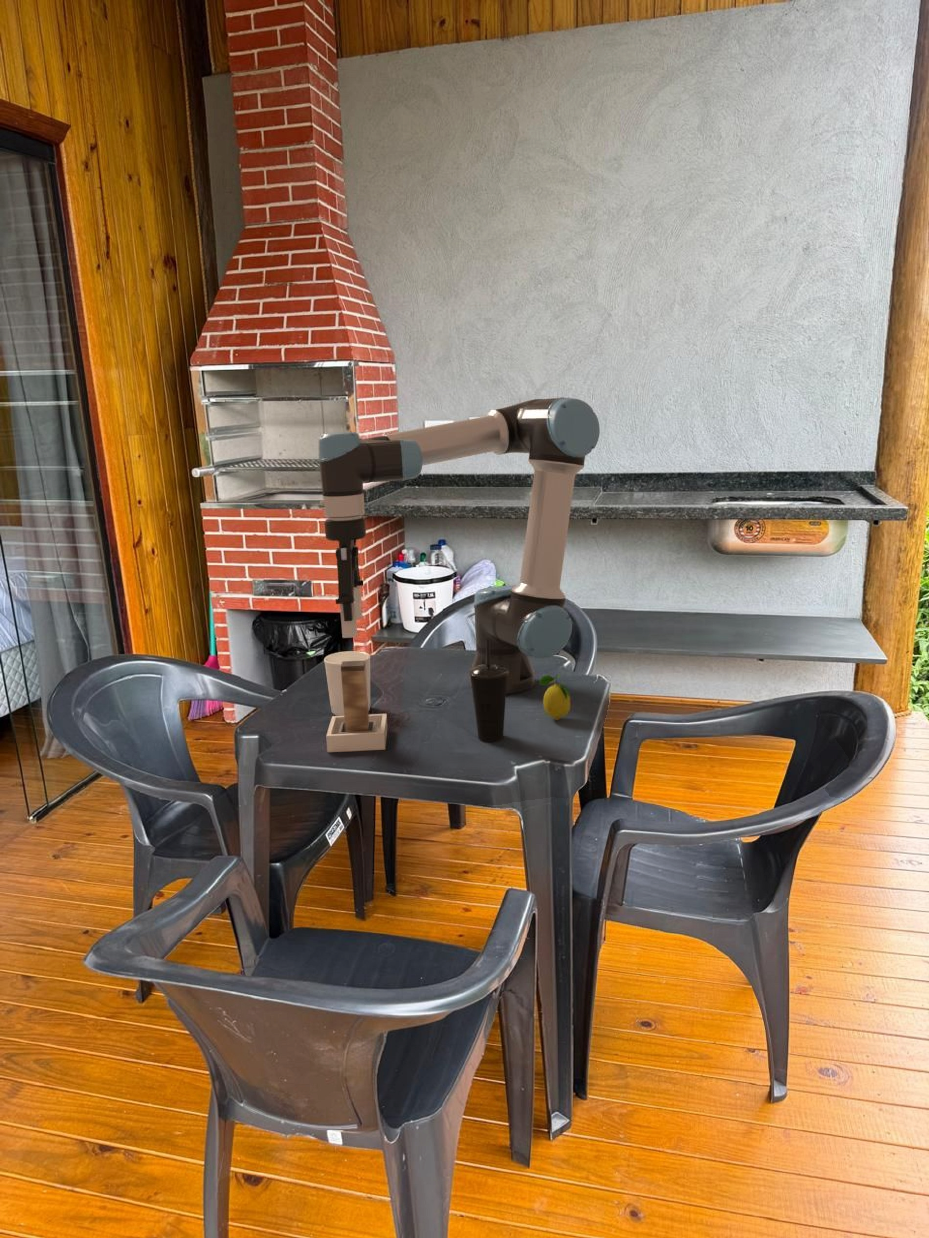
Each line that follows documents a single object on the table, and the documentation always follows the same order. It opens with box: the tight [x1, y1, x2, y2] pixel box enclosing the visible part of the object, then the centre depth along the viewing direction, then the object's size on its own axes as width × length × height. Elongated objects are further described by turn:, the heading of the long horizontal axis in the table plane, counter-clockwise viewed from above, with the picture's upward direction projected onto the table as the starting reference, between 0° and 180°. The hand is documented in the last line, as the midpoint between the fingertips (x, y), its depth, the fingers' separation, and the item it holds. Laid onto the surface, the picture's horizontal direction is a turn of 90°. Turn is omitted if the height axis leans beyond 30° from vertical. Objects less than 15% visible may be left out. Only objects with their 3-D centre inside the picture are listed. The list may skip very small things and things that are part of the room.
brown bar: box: [341, 660, 370, 732], centre depth 172 cm, size 4×4×15 cm
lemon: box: [538, 673, 572, 721], centre depth 180 cm, size 7×6×10 cm
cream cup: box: [323, 650, 371, 716], centre depth 190 cm, size 10×10×12 cm
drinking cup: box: [468, 639, 508, 743], centre depth 171 cm, size 8×8×20 cm
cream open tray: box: [325, 713, 389, 753], centre depth 174 cm, size 11×11×3 cm
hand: (352, 628), depth 169 cm, fingers open, 13 cm apart
